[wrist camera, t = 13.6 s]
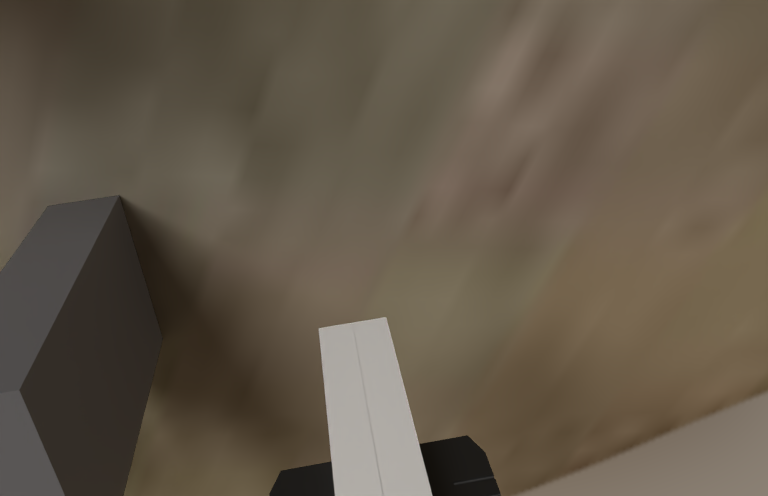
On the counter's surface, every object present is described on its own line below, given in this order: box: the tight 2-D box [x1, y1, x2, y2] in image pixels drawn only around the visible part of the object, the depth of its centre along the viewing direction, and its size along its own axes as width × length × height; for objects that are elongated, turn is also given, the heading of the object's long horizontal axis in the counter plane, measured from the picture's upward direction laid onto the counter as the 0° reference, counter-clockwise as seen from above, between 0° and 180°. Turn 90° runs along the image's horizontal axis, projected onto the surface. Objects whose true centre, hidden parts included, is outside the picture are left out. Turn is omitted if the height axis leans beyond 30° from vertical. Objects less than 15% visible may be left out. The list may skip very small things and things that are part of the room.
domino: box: [0, 195, 163, 496], centre depth 18 cm, size 5×2×9 cm, turn 7°
